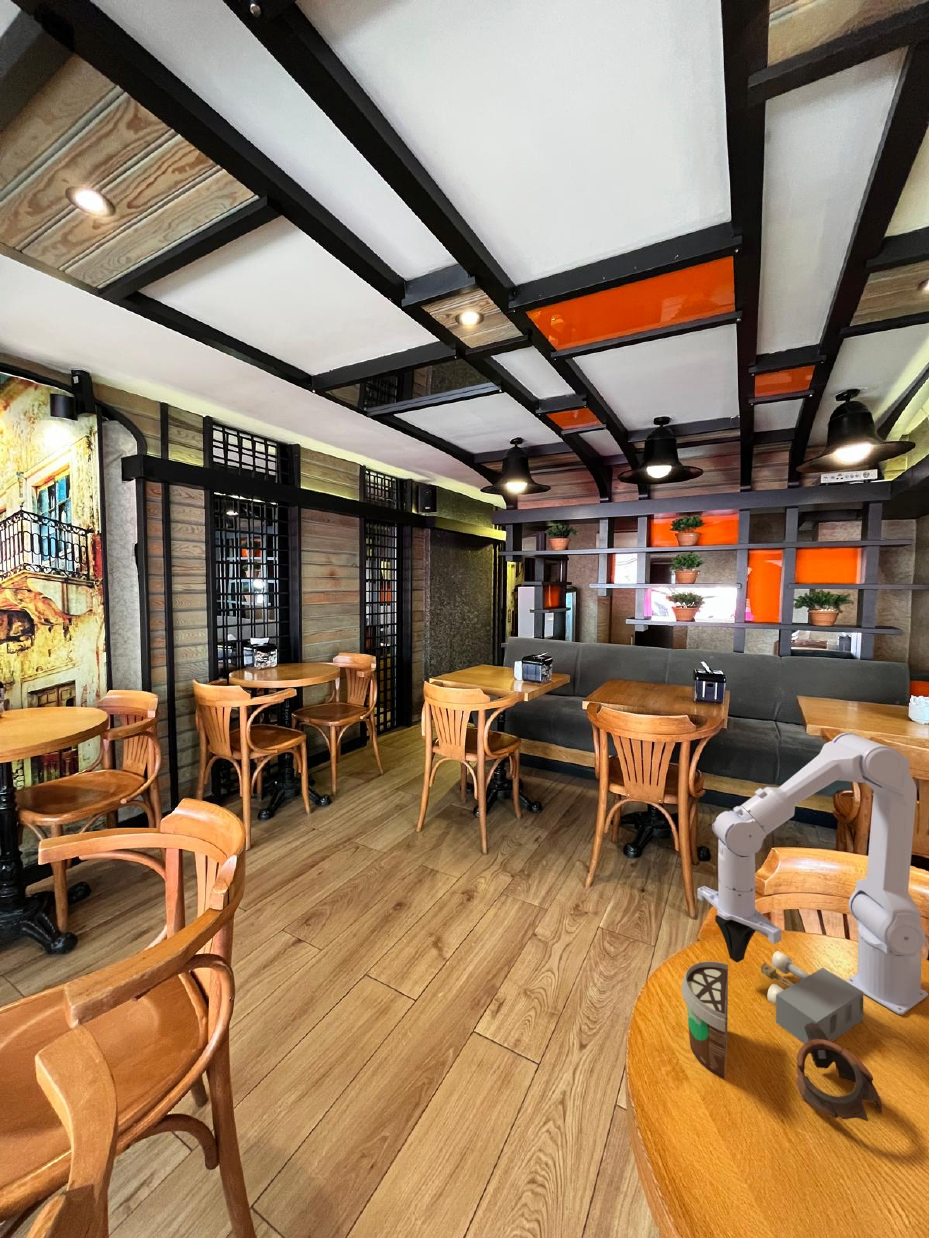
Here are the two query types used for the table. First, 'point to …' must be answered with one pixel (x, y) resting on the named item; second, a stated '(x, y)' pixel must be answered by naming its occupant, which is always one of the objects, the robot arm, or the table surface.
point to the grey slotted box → (819, 1005)
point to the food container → (708, 1013)
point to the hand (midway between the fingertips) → (736, 958)
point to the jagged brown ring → (847, 1069)
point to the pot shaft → (774, 974)
